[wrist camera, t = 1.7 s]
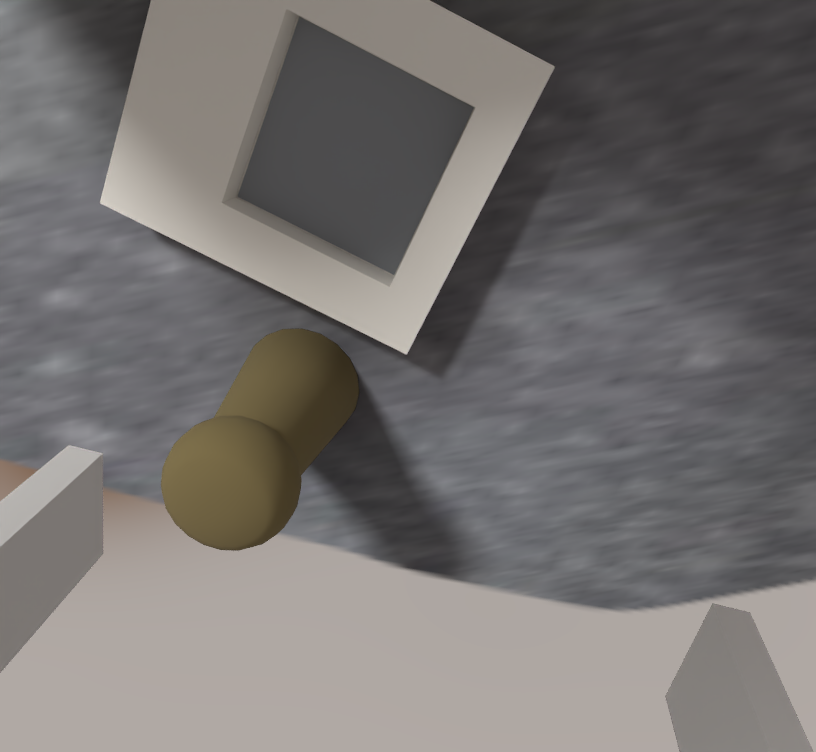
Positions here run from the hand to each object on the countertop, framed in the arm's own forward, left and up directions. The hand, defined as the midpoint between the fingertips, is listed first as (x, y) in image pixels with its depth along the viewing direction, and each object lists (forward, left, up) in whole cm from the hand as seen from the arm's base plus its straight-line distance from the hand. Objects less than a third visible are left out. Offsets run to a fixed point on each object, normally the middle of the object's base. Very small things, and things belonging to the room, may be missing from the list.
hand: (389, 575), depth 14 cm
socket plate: (-9, +4, -19) cm, 21 cm away
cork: (-5, -7, -19) cm, 21 cm away
